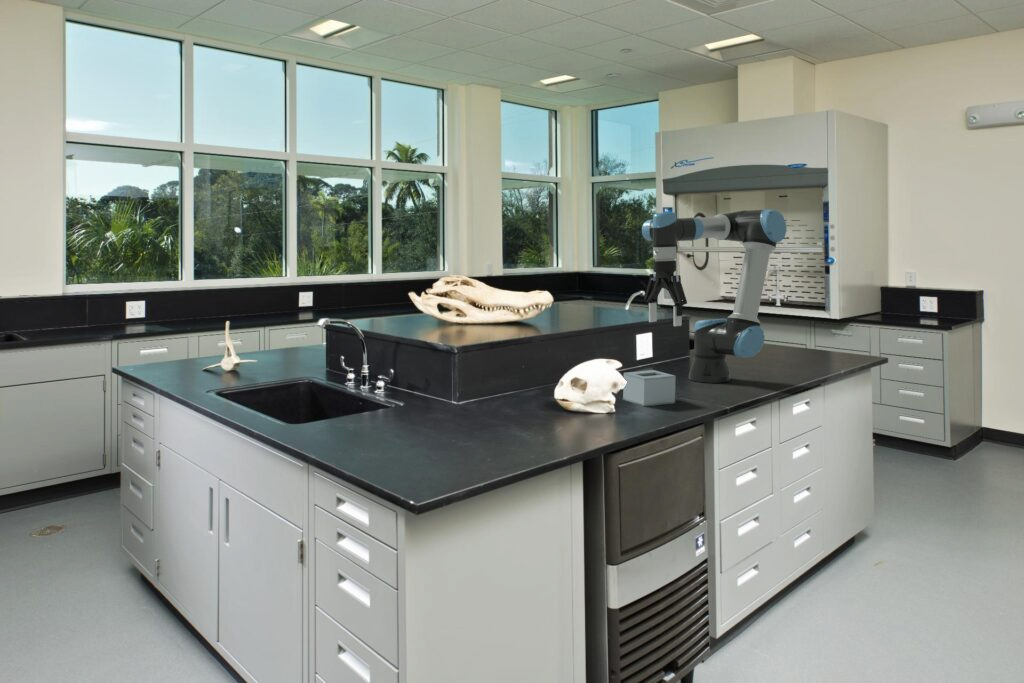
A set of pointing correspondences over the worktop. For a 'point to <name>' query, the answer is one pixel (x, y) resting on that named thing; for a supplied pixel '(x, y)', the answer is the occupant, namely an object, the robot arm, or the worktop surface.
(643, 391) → the grey square hollow box
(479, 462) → the worktop surface
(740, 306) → the robot arm
